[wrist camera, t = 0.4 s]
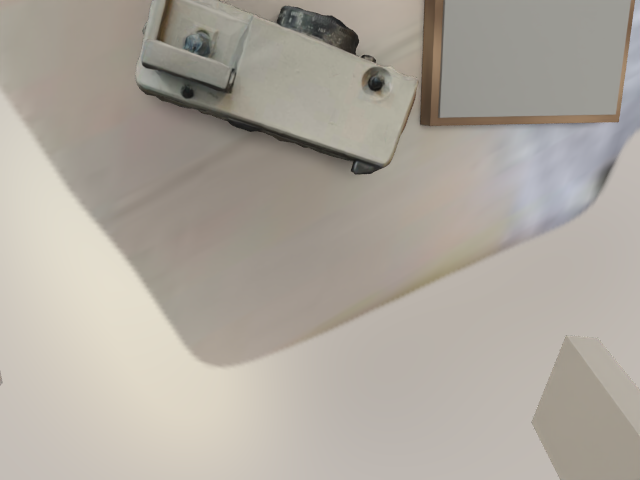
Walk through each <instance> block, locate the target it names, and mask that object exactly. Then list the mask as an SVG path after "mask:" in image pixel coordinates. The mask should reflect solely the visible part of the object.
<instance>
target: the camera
mask: <svg viewBox="0 0 640 480" xmlns="http://www.w3.org/2000/svg"><path fill="white" fill-rule="evenodd" d="M143 34H144V38H143V44H142V49H141V54H140V56H139V59H138V61H137V65H136V75H135V77H136V82H137V85H138V86H139V89H141V90H142V91H143V92H144V93H145V94H147V95H152V96H156V97H157V98H159V99H160V100H162V101H166V102H170V103H173V104H175V105H178V106H181V107H186V108H193V109H198V110H199V111H200V112H201V113H204V114H210V115H212V116H215V117H217V118H220V119H223V120H226V121H228V122H229V123H230V124H231V125H233V126H235V127H238V128H241V129H244V130H247V131H250V132H254V131H259V132H264V133H266V134H268V135H271V136H273V137H275V138H276V139H278V140H279V141H285V142H291V143H295V144H298V145H300V146H302V147H305V148H310V149H313V150H316V151H318V152H321V153H324V154H327V155H330V156H333V157H337V158H341V159H345V160H350V161H353V165H352V169H351V172H353V173H354V174H371V173H373V172H375V171H377V170H379V169H381V168H384V167H386V166H387V165H389V164H390V162H391V160H392V158H393V155H394V153H395V150H396V147H397V144H398V141H399V138H400V136H401V134H402V132H403V130H404V128H405V126H406V123H407V120H408V117H409V114H410V111H411V109H412V106H413V103H414V100H415V96H416V89H417V86H418V83H419V81H418V79H417V77H414V76H406V75H404V74H402V73H399V72H397V71H396V70H395V69H394V68H392V67H391V66H388V67H383V66H381V65H378V64H376V63H375V62H376V60H375V59H374V58H373V57H372V56H369V55H363V56H362V57H359V56H356V53H355V52H356V47H357V45H358V43H359V39H358V35H357V34H356V33H355V32H354V31H353V30H351V29H349V28H348V27H346V26H345V25H344V24H343V23H342V22H341V21H340V20H338V19H336V18H335V17H333V16H324V15H320V14H318V13H314V12H310V11H306V10H303V9H301V8H298V7H291V6H284V7H282V9H281V11H280V14H279V17H278V20H277V23H276V22H272V21H268V20H265V19H262V18H260V17H258V16H257V15H254V14H251V13H248V12H246V11H243V10H240V9H237V8H235V7H233V6H231V5H229V4H226V3H224V2H221V1H218V0H152V3H151V7H150V11H149V19H148V22H146V24H145V26H144V29H143Z"/></svg>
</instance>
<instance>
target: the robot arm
mask: <svg viewBox="0 0 640 480" xmlns="http://www.w3.org/2000/svg"><path fill="white" fill-rule="evenodd" d="M1 384H2V378H1V373H0V385H1ZM532 425H533V426H534V429H535V430H536V433H537V434H538V436H539V438H540V440H541V442H542V444H543V446H544V448H545V450H546V452H547V454H548V456H549V458H550V460H551V462H552V464H553V466H554V468H555V470H556V472H557V474H558V476H559V478H560V480H640V389H639V388H638V387H637V386H636V385H635V383H634V382H633V381H632V380H631V378H630V377H629V376H628V375H627V373H626V372H625V371H624V370H623V368H622V367H621V366H620V365H619V364H618V362H617V361H616V360H615V359H614V357H612V355H611V354H610V352H609V351H608V350H607V349H606V348H605V346H604V345H603V344H602V343H601V341H600V340H599V339H598V338H593V337H580V336H568V335H566V337H565V339H564V342H563V344H562V347H561V349H560V352H559V355H558V357H557V359H556V362H555V364H554V367H553V370H552V372H551V374H550V377H549V379H548V382H547V384H546V387H545V389H544V392H543V395H542V397H541V400H540V402H539V405H538V407H537V410H536V412H535V415H534V417H533V420H532Z"/></svg>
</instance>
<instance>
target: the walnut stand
mask: <svg viewBox="0 0 640 480" xmlns="http://www.w3.org/2000/svg"><path fill="white" fill-rule="evenodd" d="M634 4H635V0H425V7H424V34H423V62H422V89H421V116H420V124H421V125H428V126H442V125H493V124H544V123H594V122H619V116H620V108H621V101H622V93H623V86H624V79H625V71H626V64H627V56H628V49H629V41H630V34H631V26H632V19H633V11H634Z"/></svg>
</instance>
